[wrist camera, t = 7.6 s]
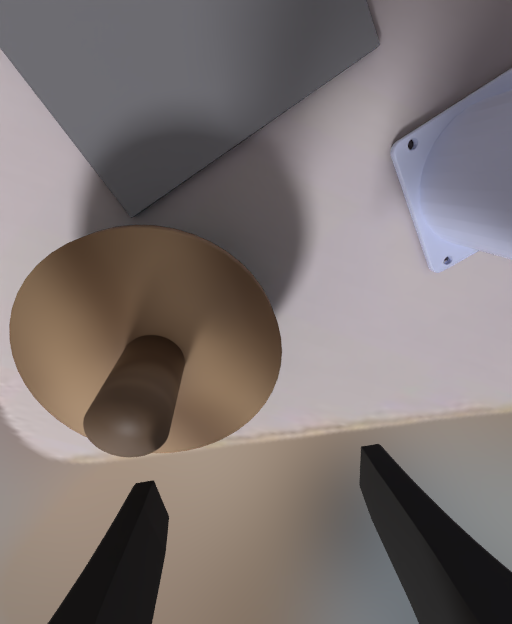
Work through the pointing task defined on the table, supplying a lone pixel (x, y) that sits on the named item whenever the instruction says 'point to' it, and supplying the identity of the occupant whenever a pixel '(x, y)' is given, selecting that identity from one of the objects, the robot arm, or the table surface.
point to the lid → (146, 340)
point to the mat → (175, 75)
